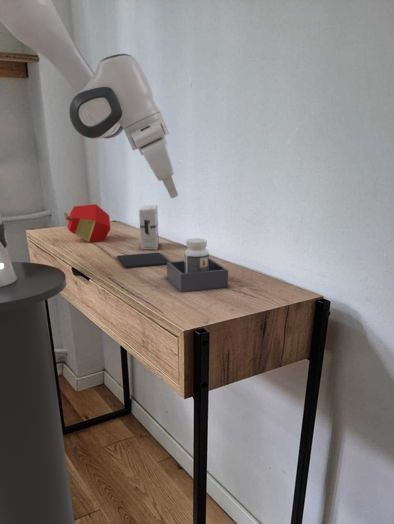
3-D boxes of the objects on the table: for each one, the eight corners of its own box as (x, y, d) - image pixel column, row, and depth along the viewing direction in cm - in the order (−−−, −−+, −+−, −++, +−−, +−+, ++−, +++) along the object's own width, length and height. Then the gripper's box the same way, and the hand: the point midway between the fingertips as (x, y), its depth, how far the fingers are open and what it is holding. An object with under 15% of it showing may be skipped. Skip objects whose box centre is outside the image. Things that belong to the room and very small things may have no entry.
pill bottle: (213, 282, 113) (214, 240, 109) (196, 287, 110) (196, 244, 106) (196, 277, 117) (197, 236, 113) (179, 282, 113) (178, 240, 109)
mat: (126, 268, 125) (126, 266, 125) (117, 257, 135) (117, 255, 135) (170, 264, 129) (170, 262, 128) (158, 254, 139) (158, 252, 139)
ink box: (143, 243, 151) (141, 204, 146) (159, 243, 151) (157, 204, 146) (140, 249, 143) (138, 208, 139) (157, 250, 143) (155, 209, 139)
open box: (181, 291, 107) (181, 274, 105) (167, 278, 117) (166, 262, 115) (227, 287, 110) (228, 270, 109) (210, 274, 120) (210, 258, 118)
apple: (110, 249, 153) (63, 236, 146) (102, 243, 164) (57, 231, 157) (120, 211, 151) (72, 196, 144) (111, 208, 161) (66, 194, 154)
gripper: (136, 140, 116) (160, 195, 121) (133, 140, 97) (162, 205, 102) (160, 129, 115) (183, 185, 120) (161, 126, 96) (189, 193, 102)
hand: (173, 194), depth 111 cm, fingers open, 8 cm apart
